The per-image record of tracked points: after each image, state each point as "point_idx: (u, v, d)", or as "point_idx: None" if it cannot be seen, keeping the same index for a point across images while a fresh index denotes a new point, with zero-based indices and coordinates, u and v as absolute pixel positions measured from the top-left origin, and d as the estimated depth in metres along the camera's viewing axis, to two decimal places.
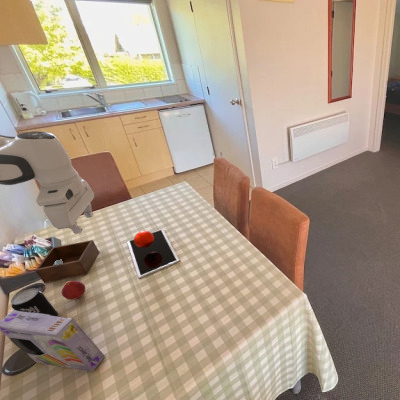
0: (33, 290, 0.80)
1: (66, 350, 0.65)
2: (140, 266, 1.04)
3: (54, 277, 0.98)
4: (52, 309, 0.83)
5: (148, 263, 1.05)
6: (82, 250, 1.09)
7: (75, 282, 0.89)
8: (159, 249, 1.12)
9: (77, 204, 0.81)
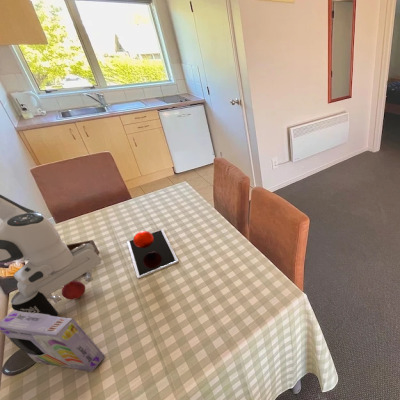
0: None
1: (66, 350, 0.65)
2: (139, 266, 1.04)
3: None
4: (52, 309, 0.83)
5: (147, 263, 1.05)
6: None
7: (75, 282, 0.89)
8: (158, 249, 1.12)
9: (59, 278, 0.84)
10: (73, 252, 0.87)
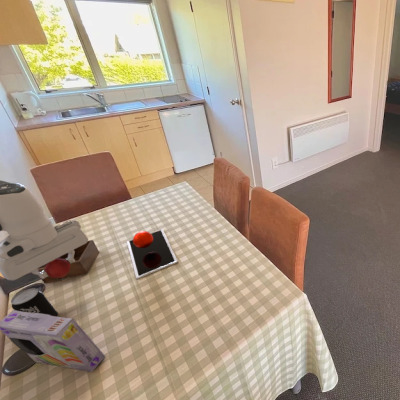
0: (33, 290, 0.80)
1: (66, 350, 0.65)
2: (138, 266, 1.04)
3: None
4: (52, 309, 0.83)
5: (146, 264, 1.05)
6: (82, 250, 1.09)
7: (59, 259, 0.84)
8: (158, 249, 1.12)
9: (41, 255, 0.79)
10: (57, 228, 0.82)
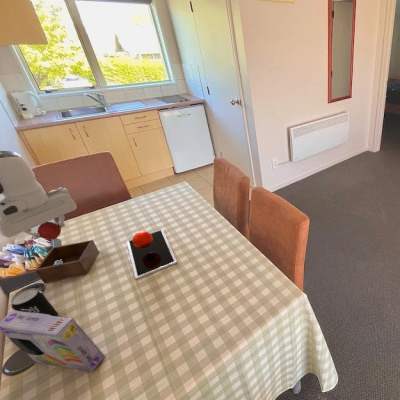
0: (33, 290, 0.80)
1: (66, 350, 0.65)
2: (138, 267, 1.03)
3: (54, 277, 0.98)
4: (52, 309, 0.83)
5: (146, 264, 1.05)
6: (82, 250, 1.09)
7: (51, 223, 0.94)
8: (158, 250, 1.12)
9: (34, 217, 0.89)
10: (48, 194, 0.92)
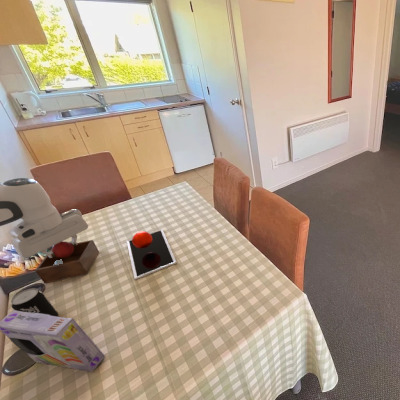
0: (33, 290, 0.80)
1: (66, 350, 0.65)
2: (137, 267, 1.03)
3: (54, 277, 0.98)
4: (52, 309, 0.83)
5: (145, 264, 1.05)
6: (82, 250, 1.09)
7: (64, 242, 1.00)
8: (157, 250, 1.12)
9: (49, 238, 0.95)
10: (62, 216, 0.98)
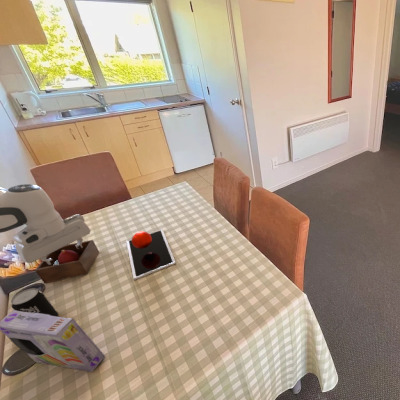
0: (33, 290, 0.80)
1: (66, 350, 0.65)
2: (136, 267, 1.03)
3: (54, 277, 0.98)
4: (52, 309, 0.83)
5: (144, 264, 1.05)
6: (82, 250, 1.09)
7: (70, 251, 1.02)
8: (157, 250, 1.12)
9: (52, 243, 0.96)
10: (65, 221, 0.99)
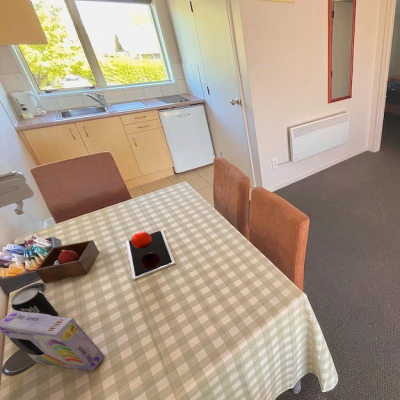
0: (33, 290, 0.80)
1: (66, 350, 0.65)
2: (136, 267, 1.03)
3: (54, 277, 0.98)
4: (52, 309, 0.83)
5: (144, 264, 1.05)
6: (82, 250, 1.09)
7: (70, 251, 1.02)
8: (156, 250, 1.12)
9: None
10: None
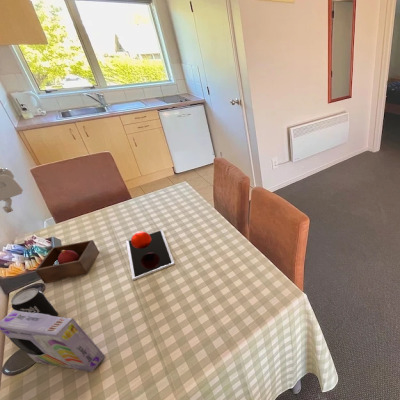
0: (33, 290, 0.80)
1: (66, 350, 0.65)
2: (135, 267, 1.03)
3: (54, 277, 0.98)
4: (52, 309, 0.83)
5: (143, 264, 1.05)
6: (82, 250, 1.09)
7: (70, 251, 1.02)
8: (156, 250, 1.12)
9: None
10: None
